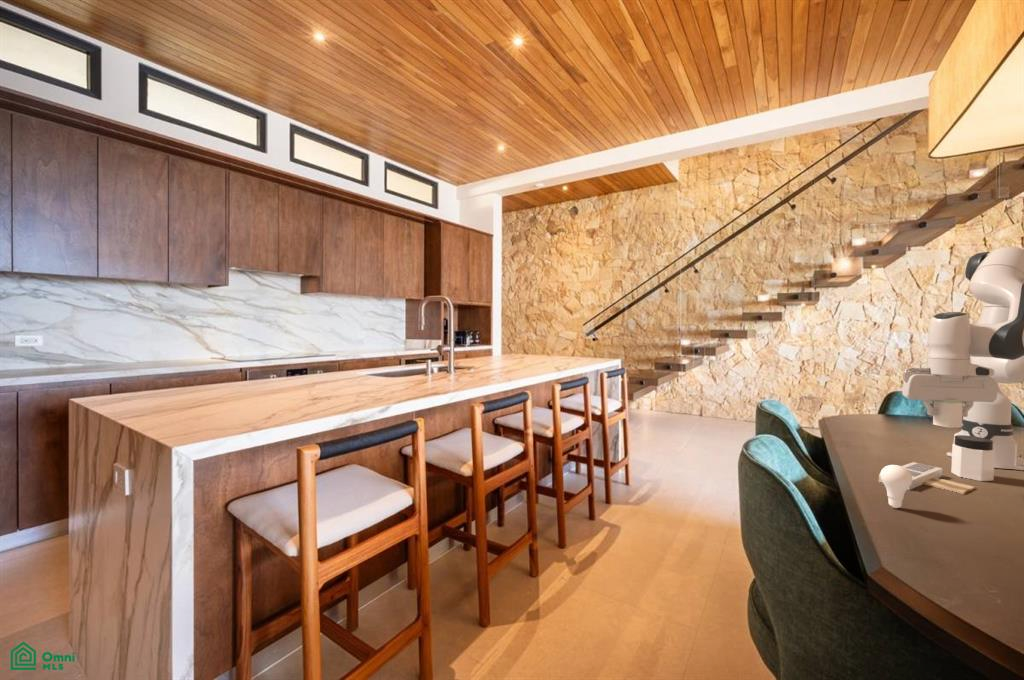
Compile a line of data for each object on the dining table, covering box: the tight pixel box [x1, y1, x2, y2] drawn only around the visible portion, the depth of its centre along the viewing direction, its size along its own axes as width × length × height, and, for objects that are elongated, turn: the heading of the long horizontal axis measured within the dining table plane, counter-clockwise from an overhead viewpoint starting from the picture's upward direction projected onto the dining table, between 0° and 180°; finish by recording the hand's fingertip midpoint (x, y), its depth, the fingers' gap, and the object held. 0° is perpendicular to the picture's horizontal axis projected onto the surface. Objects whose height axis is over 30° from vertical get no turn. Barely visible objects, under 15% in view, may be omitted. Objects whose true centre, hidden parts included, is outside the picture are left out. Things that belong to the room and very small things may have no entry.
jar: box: [950, 435, 995, 482], centre depth 133 cm, size 9×8×12 cm
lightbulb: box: [879, 464, 912, 509], centre depth 109 cm, size 6×6×11 cm
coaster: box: [922, 477, 976, 495], centre depth 125 cm, size 9×9×1 cm
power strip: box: [878, 461, 943, 491], centre depth 132 cm, size 29×7×3 cm, turn 119°
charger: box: [932, 399, 963, 429], centre depth 125 cm, size 4×4×8 cm
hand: (947, 415), depth 125 cm, fingers closed on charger, 6 cm apart
